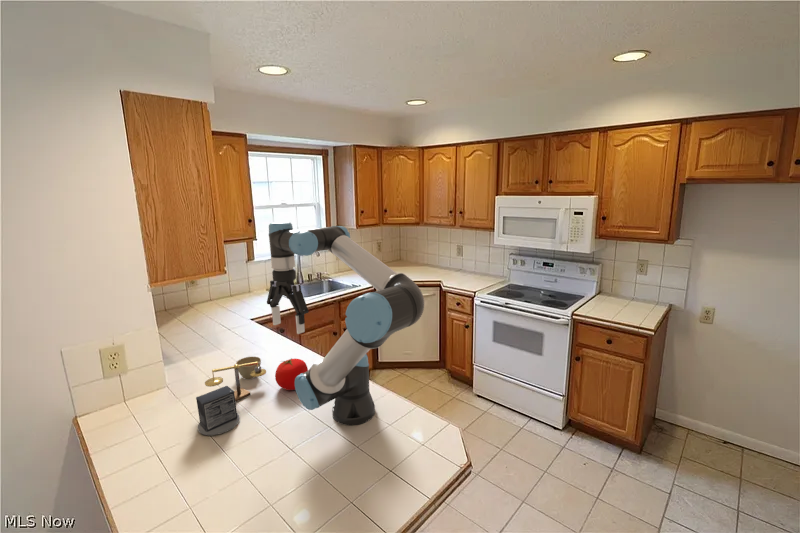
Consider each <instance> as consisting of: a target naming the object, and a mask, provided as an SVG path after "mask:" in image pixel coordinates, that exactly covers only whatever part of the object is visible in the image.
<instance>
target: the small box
mask: <svg viewBox="0 0 800 533" xmlns="http://www.w3.org/2000/svg"><path fill="white" fill-rule="evenodd" d="M234 391H235V390H233V388H231V387H230V386H228V385H225V386H222V387H219V388H217V389H215V390H212V391H210V392H207V393H204V394H201V395H199V396H196V397H195V399H196V407H197V412H198V417H199V423H200V425H201V426H202V427H203V429H204V430H205V431H206V432H208V431H210V430H212V429H215V428H217V427H219V426H221V425H224V424H226V423H228V422H230V421H232V420H235V419H237V418H238V416H237V413H238V411H237V404H236V403H237V402H235V395H234Z"/></svg>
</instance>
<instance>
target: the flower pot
mask: <svg viewBox="0 0 800 533" xmlns="http://www.w3.org/2000/svg"><path fill="white" fill-rule="evenodd" d="M261 361H262V359H261V358H260V357H259V356H246V357H242V358H240V359H238V360H237V361H236V362H235V364H238V365H241V364H247V363H252V362H258V366H261V365H262V364H261V363H262V362H261ZM255 367H257V364H256V365H250V366H245V367H239V368H238V370H239V376H241V377H242V378H243V379H244V380H248V381H249V380H253V379H254V378H256V377H252V376H251V375H250V373H251V372H252V371H253V370H255V369H254V368H255Z"/></svg>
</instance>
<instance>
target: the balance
mask: <svg viewBox="0 0 800 533" xmlns="http://www.w3.org/2000/svg"><path fill="white" fill-rule="evenodd" d="M256 364H257V367H255V368H254V369H255V370H253V371H252V372H251V373H250V375H251V376H252V377H255V378H259V377H262V376H265V375H266V373H267V370H266V369H264V368H262V366H261V365H260V366H258V362H252V363H247V364H241V365H238V364H236V363H235V364H234V365H231V366H224V367H220V368H214V369H211V373H212V377H210V378H209V379H206V380H205V382H204V385H205V387H216V386H219V385H221V384H222V383H223V382H224V378H222V377H221V376H215V374H214V373H216V372H222V371H228V370H233V369H234V370H233V371H234V378H235V387H236V390H233V391H234V395H235V403H237V402H239V401H241V400H243V399H245V398H248V397H250V396H251V391H249V390H247V389H245V388H244V387H241V380H240V373H239V370H238V368H239V367H245V366H250V365H256Z"/></svg>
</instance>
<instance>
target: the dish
mask: <svg viewBox="0 0 800 533" xmlns="http://www.w3.org/2000/svg"><path fill="white" fill-rule="evenodd" d="M237 416H238V418H237V419H235V420H232V421H230V422H228V423H226V424H224V425H221V426H219V427H217V428H215V429H212V430H210V431H208V432H206V431H205V430H204V429H203V427H202V426H201V425H200V422H198V424H197V431H198V433H199V434H201V435H202V436H211V437H212V436H218V435H221V434H224V433H227V432H229V431H230V430H232V429H234V428H235V427H236V426H237V425H238V424H239V422H240V419H241V417H240V415H239V413H238V412H237Z"/></svg>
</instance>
